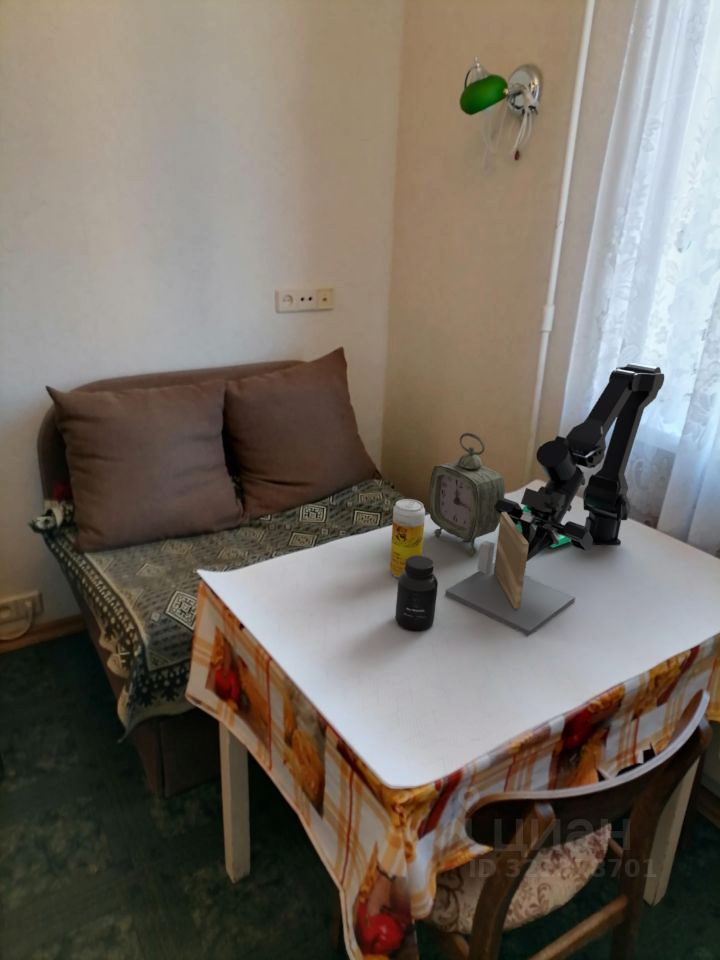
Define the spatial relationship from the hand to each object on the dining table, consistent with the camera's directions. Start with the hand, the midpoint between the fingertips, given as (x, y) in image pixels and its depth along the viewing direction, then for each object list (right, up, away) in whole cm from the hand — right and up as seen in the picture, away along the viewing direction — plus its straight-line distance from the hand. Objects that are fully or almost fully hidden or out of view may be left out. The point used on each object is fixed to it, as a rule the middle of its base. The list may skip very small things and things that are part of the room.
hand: (521, 562), depth 125 cm
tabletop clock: (-7, +1, +22) cm, 23 cm away
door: (-3, -5, +1) cm, 6 cm away
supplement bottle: (-21, -10, -7) cm, 24 cm away
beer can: (-21, -3, +8) cm, 23 cm away
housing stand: (-2, -7, +1) cm, 7 cm away
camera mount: (+11, +2, +26) cm, 28 cm away
